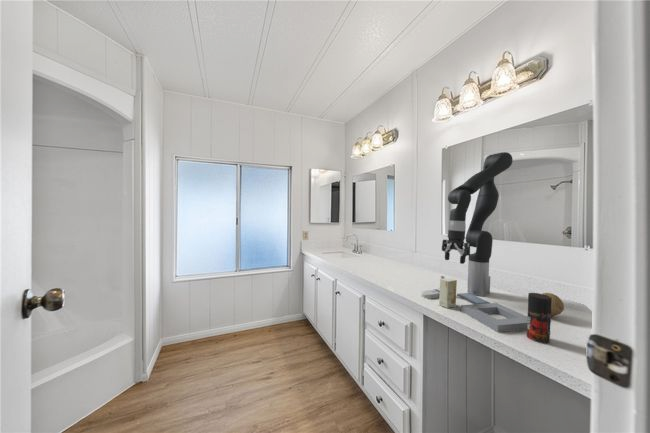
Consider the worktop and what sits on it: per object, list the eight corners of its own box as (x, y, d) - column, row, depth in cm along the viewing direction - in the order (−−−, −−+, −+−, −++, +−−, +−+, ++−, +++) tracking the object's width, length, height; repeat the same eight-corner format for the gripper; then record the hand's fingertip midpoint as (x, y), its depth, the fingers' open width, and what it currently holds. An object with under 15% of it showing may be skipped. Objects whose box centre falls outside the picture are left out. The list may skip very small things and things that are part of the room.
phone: (468, 294, 124) (469, 292, 124) (490, 305, 111) (490, 302, 111) (456, 295, 123) (457, 293, 123) (477, 305, 110) (477, 303, 110)
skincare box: (447, 308, 107) (448, 281, 106) (438, 305, 111) (439, 278, 110) (456, 306, 110) (457, 279, 109) (447, 302, 114) (448, 277, 113)
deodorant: (522, 334, 85) (523, 292, 85) (537, 333, 86) (539, 292, 85) (538, 343, 80) (540, 299, 79) (554, 343, 80) (556, 298, 80)
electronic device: (419, 277, 122) (442, 274, 127) (419, 296, 123) (442, 292, 127) (426, 280, 117) (450, 277, 122) (426, 300, 117) (450, 296, 122)
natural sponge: (566, 324, 93) (568, 299, 93) (536, 318, 98) (537, 294, 98) (559, 315, 101) (560, 292, 101) (532, 310, 106) (533, 288, 105)
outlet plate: (496, 308, 108) (496, 302, 108) (538, 328, 90) (538, 321, 90) (461, 310, 105) (461, 305, 104) (497, 332, 87) (497, 325, 87)
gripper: (475, 231, 116) (472, 264, 116) (449, 228, 129) (447, 258, 129) (464, 231, 113) (461, 265, 113) (439, 228, 126) (437, 258, 126)
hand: (454, 261), depth 121 cm, fingers open, 8 cm apart
